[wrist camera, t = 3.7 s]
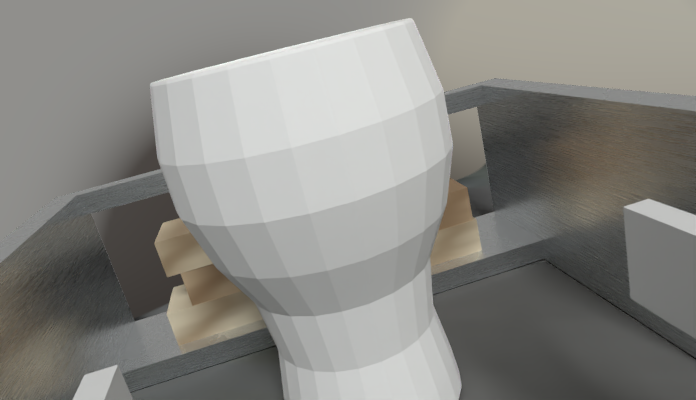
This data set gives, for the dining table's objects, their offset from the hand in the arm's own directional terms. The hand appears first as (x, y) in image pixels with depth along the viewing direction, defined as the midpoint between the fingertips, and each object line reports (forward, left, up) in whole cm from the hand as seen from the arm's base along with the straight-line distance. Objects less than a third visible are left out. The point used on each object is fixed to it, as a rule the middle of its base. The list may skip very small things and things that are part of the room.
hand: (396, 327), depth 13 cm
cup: (+1, +8, -8) cm, 12 cm away
